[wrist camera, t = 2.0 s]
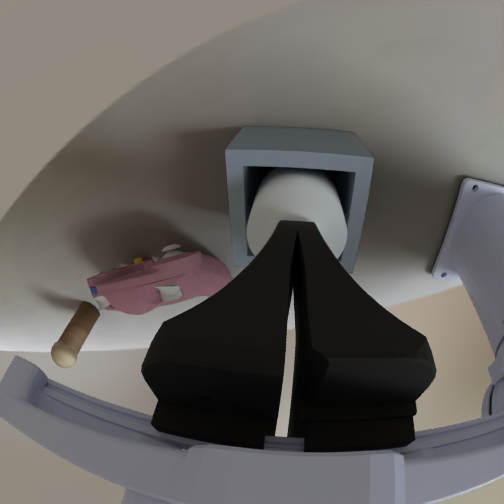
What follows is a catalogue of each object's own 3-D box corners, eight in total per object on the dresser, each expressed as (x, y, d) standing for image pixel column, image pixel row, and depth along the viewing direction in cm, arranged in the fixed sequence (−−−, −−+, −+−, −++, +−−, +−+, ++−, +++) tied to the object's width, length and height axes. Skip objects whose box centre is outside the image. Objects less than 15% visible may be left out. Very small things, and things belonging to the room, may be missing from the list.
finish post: (95, 302, 26) (60, 360, 20) (104, 320, 28) (74, 376, 22) (76, 298, 27) (41, 352, 21) (86, 316, 28) (55, 369, 22)
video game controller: (225, 229, 21) (175, 244, 14) (241, 289, 21) (200, 329, 15) (125, 255, 24) (66, 274, 17) (139, 304, 24) (86, 335, 18)
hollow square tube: (354, 132, 14) (374, 158, 10) (342, 226, 18) (352, 273, 14) (243, 126, 15) (225, 149, 11) (247, 220, 18) (233, 266, 15)
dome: (341, 162, 13) (356, 200, 10) (332, 233, 15) (340, 285, 12) (256, 158, 13) (242, 193, 10) (257, 229, 16) (246, 280, 12)
